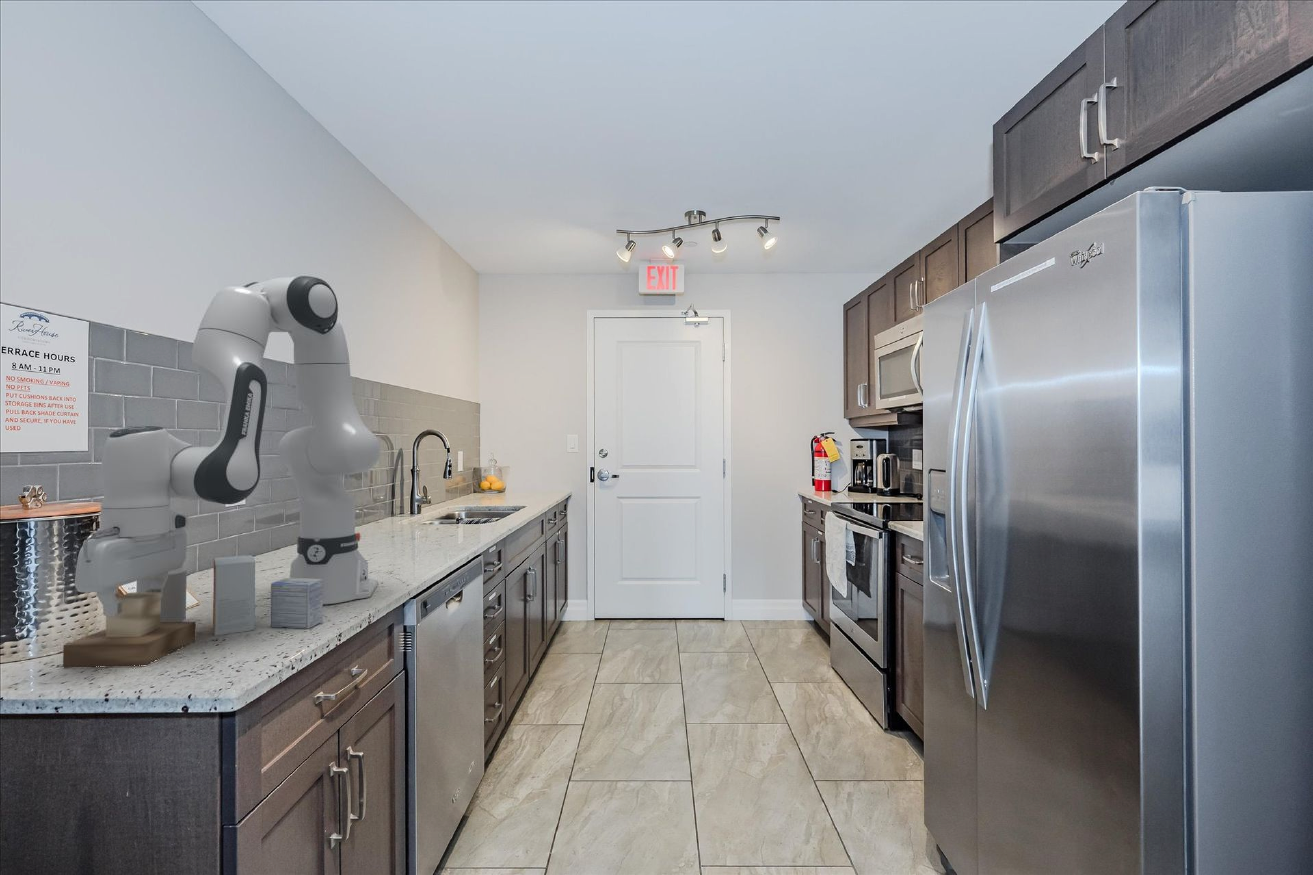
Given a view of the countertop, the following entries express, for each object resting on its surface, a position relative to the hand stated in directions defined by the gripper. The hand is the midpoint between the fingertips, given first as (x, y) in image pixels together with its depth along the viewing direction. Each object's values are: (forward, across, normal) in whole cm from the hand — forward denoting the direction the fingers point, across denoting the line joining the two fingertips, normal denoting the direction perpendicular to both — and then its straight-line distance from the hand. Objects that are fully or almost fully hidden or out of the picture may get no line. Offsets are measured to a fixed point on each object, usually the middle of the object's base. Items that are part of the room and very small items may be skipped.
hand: (134, 606), depth 103 cm
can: (+8, +16, +6) cm, 19 cm away
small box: (+8, +14, -8) cm, 18 cm away
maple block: (+4, 0, 0) cm, 4 cm away
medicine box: (+8, +15, -19) cm, 26 cm away
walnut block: (+8, 0, 0) cm, 8 cm away
